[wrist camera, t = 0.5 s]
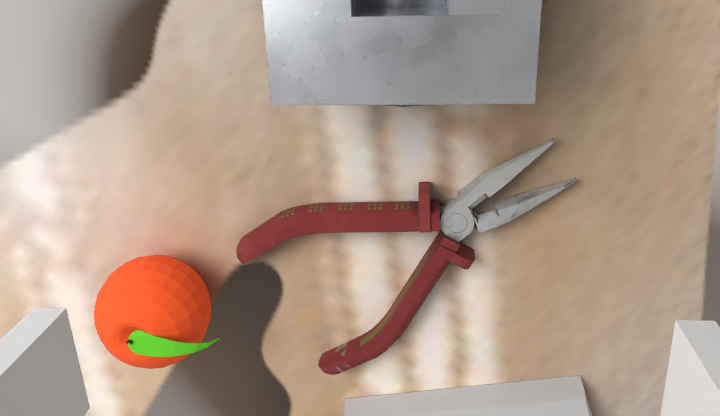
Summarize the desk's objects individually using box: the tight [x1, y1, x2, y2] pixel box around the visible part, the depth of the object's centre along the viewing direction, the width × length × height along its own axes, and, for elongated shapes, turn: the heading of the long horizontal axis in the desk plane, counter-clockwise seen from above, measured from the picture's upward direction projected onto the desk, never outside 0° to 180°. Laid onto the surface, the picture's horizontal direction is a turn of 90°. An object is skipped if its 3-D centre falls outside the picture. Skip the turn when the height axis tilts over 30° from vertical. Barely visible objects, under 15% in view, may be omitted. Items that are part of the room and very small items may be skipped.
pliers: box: [237, 139, 577, 375], centre depth 41 cm, size 12×20×3 cm, turn 123°
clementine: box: [94, 255, 220, 369], centre depth 41 cm, size 8×7×7 cm
